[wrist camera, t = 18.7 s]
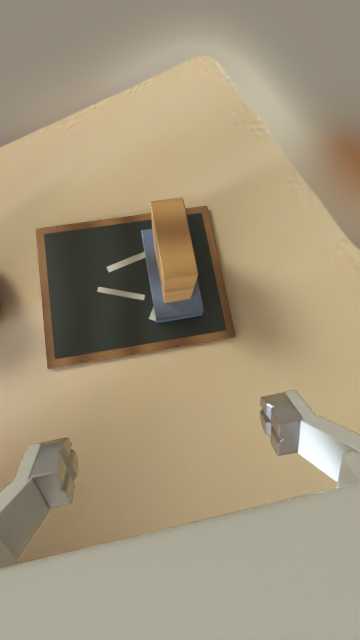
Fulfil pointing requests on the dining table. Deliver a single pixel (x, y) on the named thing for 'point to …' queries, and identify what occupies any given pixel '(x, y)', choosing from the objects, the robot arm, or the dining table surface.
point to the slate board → (120, 291)
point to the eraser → (171, 262)
